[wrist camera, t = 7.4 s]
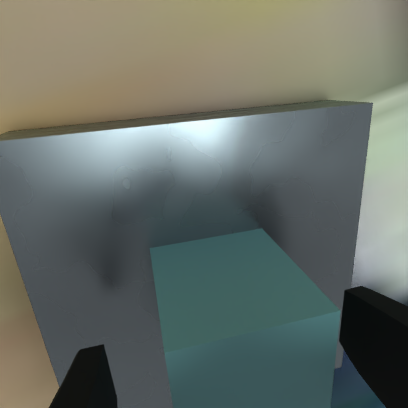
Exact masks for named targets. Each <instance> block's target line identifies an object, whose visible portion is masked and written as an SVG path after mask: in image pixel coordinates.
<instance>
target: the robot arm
mask: <svg viewBox="0 0 408 408" xmlns="http://www.w3.org/2000/svg"><path fill="white" fill-rule="evenodd" d="M339 342H340V344H341V346H342V347H343V349H344V350H345V352H346V354H347V355H348V357H349V359H350V360H351V362H352V363H353V365H354V366H355V368H356V369H357V371H358V372H359V374H360V375H361V376H362V378H363V379H364V380H365V382H366V383H367V384H368V385H369V387H370V388H371V389H372V390H373V392H374V393H375V394H376V396H377V397H378V398H379V399H380V401H381V402H382V403H383V404H384V405H385V407H386V408H408V306H406V305H403V304H401V303H399V302H397V301H395V300H393V299H391V298H388V297H386V296H384V295H382V294H380V293H377V292H375V291H373V290H371V289H368V288H366V287H363V286H360V287H355V288H351V289H346V290H344V299H343V308H342V317H341V326H340V335H339ZM49 408H118V407H117V395H116V391H115V387H114V383H113V379H112V375H111V371H110V367H109V363H108V359H107V355H106V351H105V347H104V344H102V345H97V346H93V347H88V348H84V349H80V350H79V351H78V352H77V354H76V356H75V358H74V360H73V362H72V364H71V366H70V368H69V370H68V372H67V374H66V376H65V378H64V380H63V382H62V384H61V386H60V388H59V390H58V392H57V393H56V395H55V397H54V399H53V401H52V403H51V405H50V406H49Z"/></svg>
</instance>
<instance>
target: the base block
mask: <svg viewBox="0 0 408 408" xmlns="http://www.w3.org/2000/svg"><path fill="white" fill-rule="evenodd" d="M372 106H373V103H367V102H351V101H336V100H324V101H314V102H304V103H294V104H283V105H273V106H263V107H253V108H243V109H232V110H222V111H212V112H202V113H191V114H181V115H171V116H161V117H151V118H140V119H130V120H120V121H110V122H100V123H89V124H79V125H69V126H59V127H48V128H38V129H28V130H18V131H9V132H6V133H3V134H1V135H0V214H1V217H2V220H3V223H4V226H5V229H6V232H7V235H8V237H9V240H10V243H11V246H12V249H13V252H14V255H15V258H16V261H17V264H18V267H19V270H20V273H21V276H22V279H23V281H24V284H25V287H26V290H27V293H28V296H29V299H30V302H31V305H32V308H33V311H34V314H35V317H36V320H37V323H38V325H39V328H40V331H41V334H42V337H43V340H44V343H45V346H46V349H47V352H48V355H49V358H50V361H51V364H52V367H53V369H54V372H55V375H56V378H57V381H58V384H59V387H60V386H61V384H62V382H63V380H64V378H65V376H66V374H67V372H68V370H69V368H70V366H71V364H72V362H73V360H74V358H75V356H76V354H77V352H78V351H79V350H80V349H84V348H88V347H93V346H97V345H102V344H104V347H105V351H106V355H107V359H108V363H109V367H110V371H111V375H112V379H113V383H114V387H115V391H116V395H117V407H118V408H173V403H172V397H171V391H170V385H169V378H168V372H167V366H166V360H165V354H164V347H163V340H162V332H161V325H160V318H159V311H158V304H157V297H156V290H155V283H154V275H153V268H152V261H151V254H150V248H154V247H159V246H165V245H171V244H176V243H182V242H188V241H193V240H199V239H204V238H210V237H216V236H221V235H227V234H233V233H238V232H244V231H250V230H255V229H261V228H262V229H263V230H264V231H265V232H266V233H267V234H268V235H269V236H270V237H271V238H272V239H273V240H274V242H275V243H276V244H277V245H278V246H279V247H280V248H281V249H282V250H283V251H284V252H285V253H286V254H287V255H288V256H289V257H290V258H291V259H292V260H293V261H294V262H295V263H296V265H297V266H298V267H299V268H300V269H301V270H302V271H303V272H304V273H305V274H306V275H307V276H308V277H309V278H310V279H311V280H312V281H313V282H314V283H315V284H316V285H317V286H318V288H319V289H320V290H321V291H322V292H323V293H324V294H325V295H326V296H327V297H328V298H329V299H330V300H331V301H332V302H333V303H334V304H335V305H336V306H337V307H338V308H339V310H340V311H341V312H340V321H339V331H338V340H337V350H336V359H335V368H339V367H341V365H342V357H343V347H342V346H341V344H340V342H339V335H340V326H341V317H342V308H343V299H344V290H346V289H351V282H352V273H353V265H354V257H355V248H356V240H357V232H358V223H359V215H360V206H361V198H362V190H363V181H364V173H365V165H366V156H367V148H368V140H369V131H370V123H371V114H372Z"/></svg>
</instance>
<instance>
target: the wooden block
mask: <svg viewBox="0 0 408 408" xmlns="http://www.w3.org/2000/svg"><path fill="white" fill-rule="evenodd" d="M150 254H151V261H152V268H153V275H154V283H155V290H156V297H157V304H158V311H159V318H160V325H161V332H162V340H163V347H164V354H165V360H166V366H167V372H168V378H169V385H170V391H171V397H172V403H173V408H330V406H331V397H332V387H333V378H334V369H335V359H336V350H337V340H338V331H339V321H340V312H341V311H340V310H339V308H338V307H337V306H336V305H335V304H334V303H333V302H332V301H331V300H330V299H329V298H328V297H327V296H326V295H325V294H324V293H323V292H322V291H321V290H320V289H319V288H318V286H317V285H316V284H315V283H314V282H313V281H312V280H311V279H310V278H309V277H308V276H307V275H306V274H305V273H304V272H303V271H302V270H301V269H300V268H299V267H298V266H297V265H296V263H295V262H294V261H293V260H292V259H291V258H290V257H289V256H288V255H287V254H286V253H285V252H284V251H283V250H282V249H281V248H280V247H279V246H278V245H277V244H276V243H275V242H274V240H273V239H272V238H271V237H270V236H269V235H268V234H267V233H266V232H265V231H264V230H263V229H262V228H261V229H255V230H250V231H244V232H238V233H233V234H227V235H221V236H216V237H210V238H204V239H199V240H193V241H188V242H182V243H176V244H171V245H165V246H159V247H154V248H150Z"/></svg>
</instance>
